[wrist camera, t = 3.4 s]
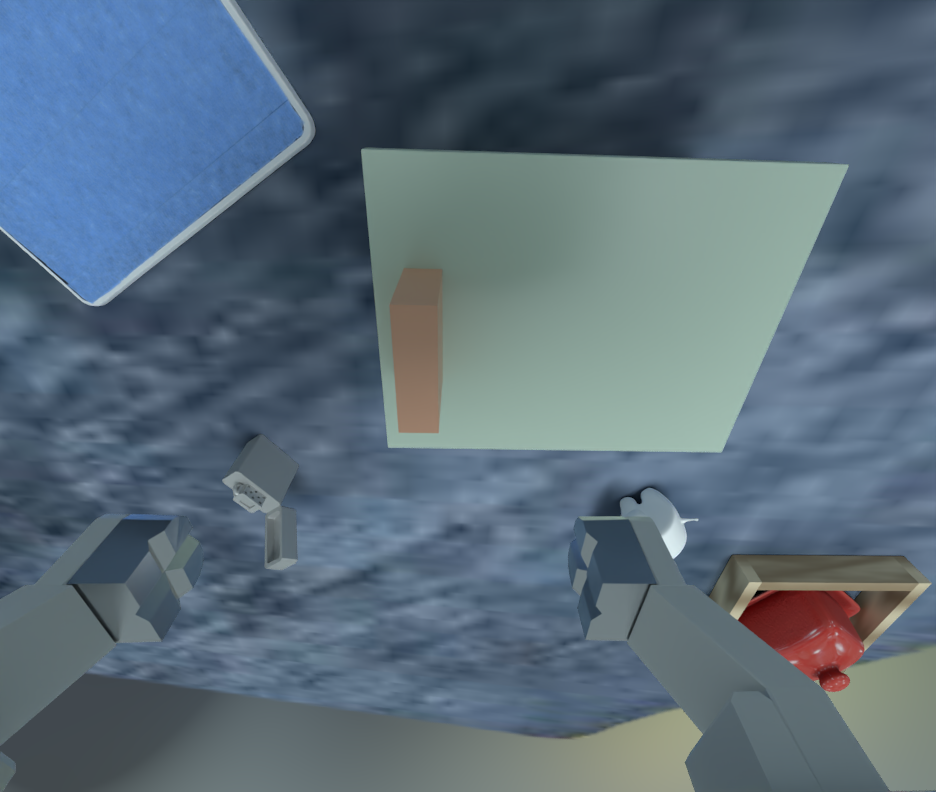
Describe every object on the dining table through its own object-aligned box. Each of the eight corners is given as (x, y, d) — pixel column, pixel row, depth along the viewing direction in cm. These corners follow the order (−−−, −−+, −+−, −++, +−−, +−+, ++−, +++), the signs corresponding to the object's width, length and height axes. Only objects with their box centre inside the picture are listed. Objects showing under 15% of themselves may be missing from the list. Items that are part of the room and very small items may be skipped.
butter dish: (806, 556, 43) (876, 642, 36) (856, 599, 47) (927, 685, 40) (706, 607, 48) (750, 693, 40) (759, 643, 52) (808, 726, 45)
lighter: (246, 443, 34) (193, 521, 27) (261, 433, 34) (210, 510, 27) (311, 495, 37) (277, 577, 31) (325, 487, 37) (294, 569, 30)
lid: (370, 146, 16) (330, 156, 11) (813, 161, 17) (961, 176, 12) (392, 426, 23) (374, 507, 18) (704, 431, 24) (768, 511, 19)
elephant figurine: (578, 499, 38) (595, 556, 33) (665, 461, 36) (698, 516, 31) (608, 541, 41) (628, 599, 36) (690, 509, 39) (724, 566, 34)
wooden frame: (732, 554, 42) (749, 582, 40) (903, 556, 43) (931, 583, 40) (677, 652, 52) (689, 679, 50) (818, 653, 53) (836, 679, 50)
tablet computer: (104, 307, 29) (89, 315, 28) (-112, 114, 23) (-141, 114, 22) (326, 133, 24) (320, 134, 22) (122, -174, 18) (100, -194, 17)
